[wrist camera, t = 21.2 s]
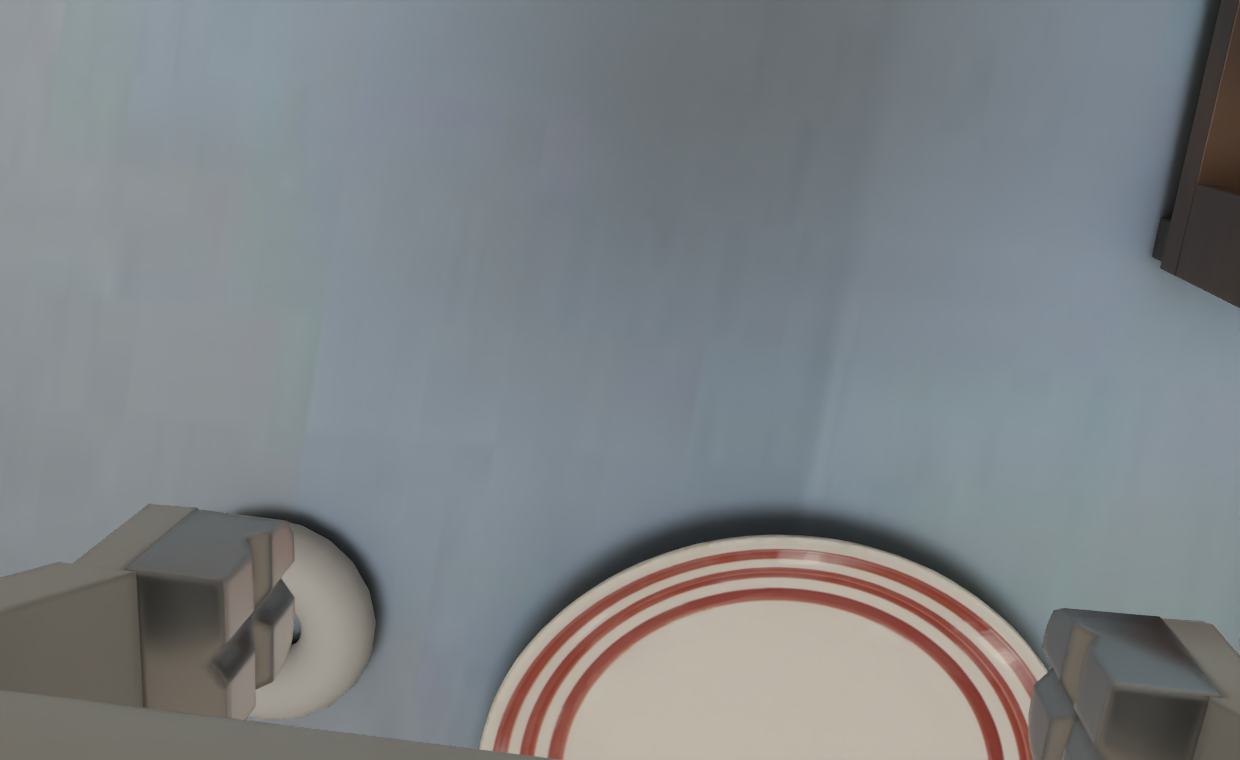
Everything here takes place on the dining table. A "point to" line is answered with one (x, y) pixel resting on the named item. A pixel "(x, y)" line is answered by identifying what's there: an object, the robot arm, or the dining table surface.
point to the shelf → (1210, 176)
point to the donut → (320, 631)
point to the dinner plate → (770, 662)
